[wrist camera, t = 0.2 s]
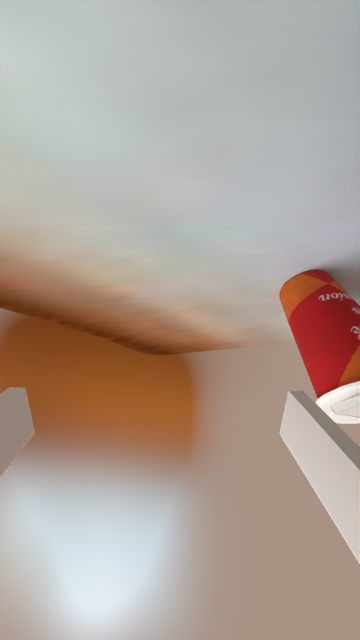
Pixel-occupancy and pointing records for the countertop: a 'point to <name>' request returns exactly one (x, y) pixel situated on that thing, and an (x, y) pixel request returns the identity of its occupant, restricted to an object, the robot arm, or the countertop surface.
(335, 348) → the paper cup
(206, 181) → the countertop surface
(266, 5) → the countertop surface
